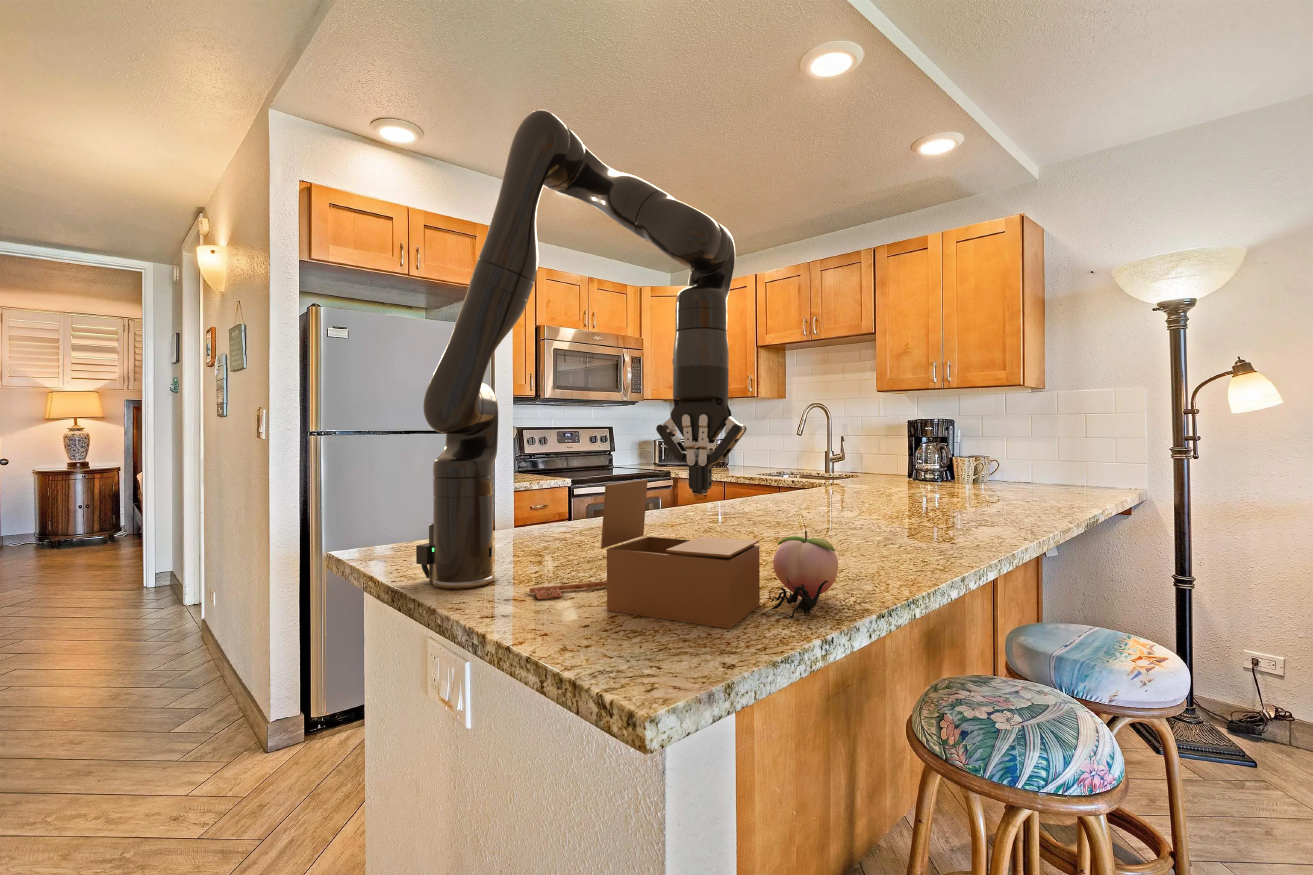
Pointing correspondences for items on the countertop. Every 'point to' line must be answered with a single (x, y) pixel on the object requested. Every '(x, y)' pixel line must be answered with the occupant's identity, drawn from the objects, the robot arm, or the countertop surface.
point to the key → (555, 591)
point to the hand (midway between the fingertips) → (699, 493)
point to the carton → (671, 569)
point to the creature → (805, 602)
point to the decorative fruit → (806, 563)
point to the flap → (713, 546)
